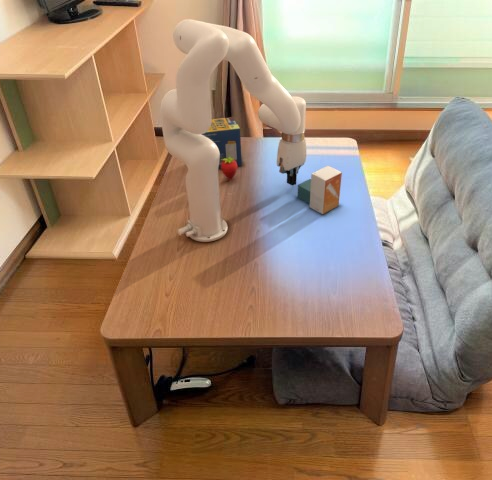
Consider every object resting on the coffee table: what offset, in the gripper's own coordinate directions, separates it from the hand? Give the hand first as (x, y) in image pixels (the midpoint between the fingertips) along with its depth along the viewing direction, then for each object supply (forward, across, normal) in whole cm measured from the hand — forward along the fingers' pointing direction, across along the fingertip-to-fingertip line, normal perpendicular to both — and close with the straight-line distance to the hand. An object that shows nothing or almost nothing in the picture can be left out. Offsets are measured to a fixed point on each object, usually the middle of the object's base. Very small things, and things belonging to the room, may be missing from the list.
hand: (291, 183), depth 172 cm
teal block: (+2, -1, +8) cm, 9 cm away
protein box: (+2, +8, -32) cm, 33 cm away
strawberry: (+3, +13, -19) cm, 23 cm away
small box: (+2, -1, +16) cm, 16 cm away
